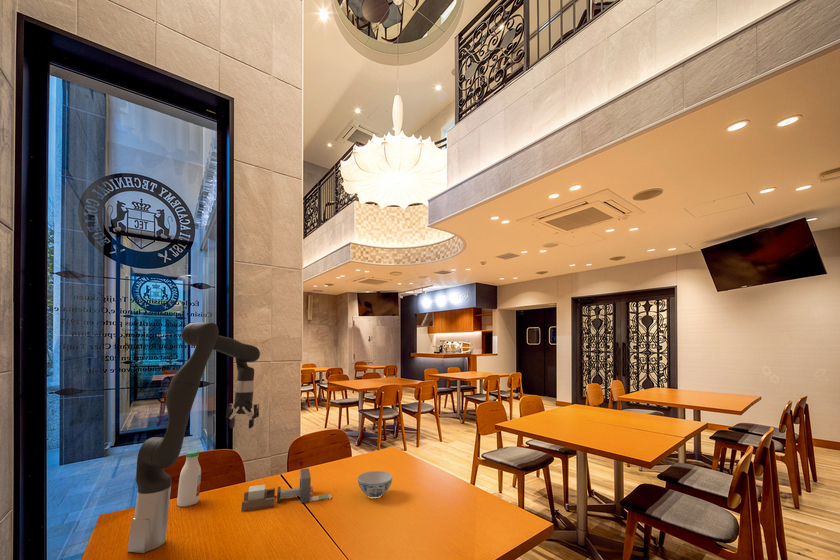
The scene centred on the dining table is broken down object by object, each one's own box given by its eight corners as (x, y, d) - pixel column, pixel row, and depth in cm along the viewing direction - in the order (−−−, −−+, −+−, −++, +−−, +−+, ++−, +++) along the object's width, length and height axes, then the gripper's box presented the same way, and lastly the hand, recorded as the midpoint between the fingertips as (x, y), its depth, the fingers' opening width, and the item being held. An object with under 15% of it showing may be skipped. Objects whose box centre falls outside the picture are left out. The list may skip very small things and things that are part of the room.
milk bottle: (191, 507, 148) (196, 454, 151) (172, 507, 148) (177, 454, 151) (202, 499, 155) (207, 449, 158) (184, 499, 155) (189, 448, 159)
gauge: (241, 512, 144) (243, 486, 145) (244, 499, 155) (245, 475, 157) (332, 498, 156) (333, 475, 157) (328, 487, 167) (329, 465, 169)
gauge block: (247, 508, 147) (248, 491, 148) (248, 501, 153) (249, 486, 154) (265, 505, 150) (266, 489, 151) (266, 499, 155) (267, 484, 156)
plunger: (276, 504, 149) (277, 494, 150) (277, 496, 157) (277, 486, 158) (313, 499, 154) (313, 489, 155) (311, 492, 162) (311, 482, 162)
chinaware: (386, 505, 150) (386, 484, 151) (351, 501, 153) (352, 481, 154) (396, 490, 164) (396, 472, 166) (364, 487, 167) (364, 469, 169)
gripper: (224, 391, 166) (221, 429, 163) (255, 391, 165) (252, 430, 162) (234, 389, 173) (230, 425, 170) (263, 390, 172) (260, 426, 169)
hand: (241, 427), depth 166 cm, fingers open, 8 cm apart
